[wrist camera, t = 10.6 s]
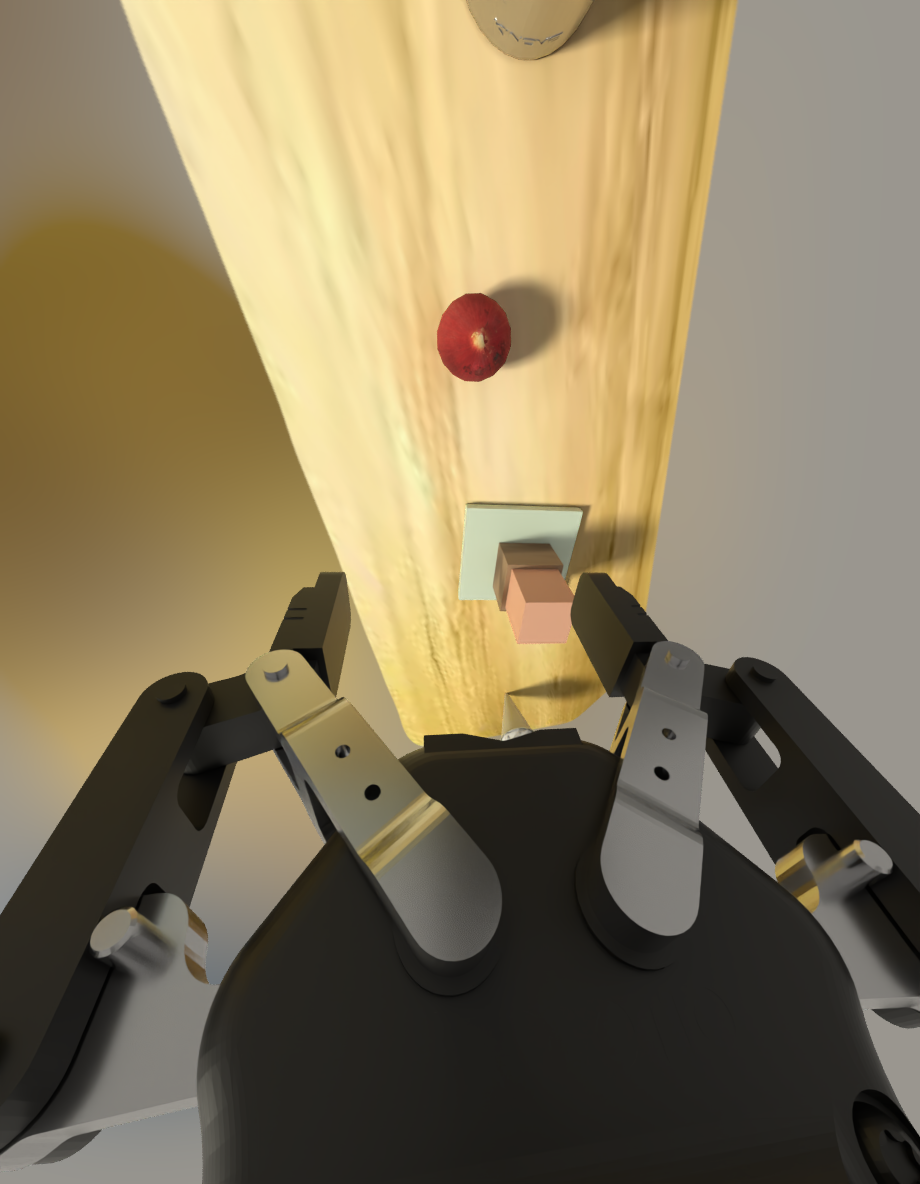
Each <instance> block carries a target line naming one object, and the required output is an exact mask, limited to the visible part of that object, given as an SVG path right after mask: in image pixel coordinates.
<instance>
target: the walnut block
mask: <svg viewBox="0 0 920 1184" xmlns="http://www.w3.org/2000/svg"><path fill="white" fill-rule="evenodd" d="M563 566H564V565H563V563H562V562H561V560H560V559H559V557H558V556H557V554H556V553H555V551H554V549H553V548H552V546H551V545H550V544H547V543H499V546H498V553H497V560H496V567H495V574H494V580H493V589H494V593H495V596H496V599H497V602H498V605H499V609H500V611H506V608H505V606H506V600H507V595H508V589H509V583H510V577H511V571H512V569H558V570H559V572H560V573H561V574H562V570H563Z"/></svg>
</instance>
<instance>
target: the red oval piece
mask: <svg viewBox="0 0 920 1184" xmlns="http://www.w3.org/2000/svg"><path fill="white" fill-rule="evenodd" d="M437 347H438V351H439V354H440V356H441V359H442V361H443V364H444V365H445V366H446V367H447V368H448V369H449V371H450V372H451V373H452V374H453V375H455V376H457V377H458V378H460V379H462V380H464V381H475V382H479V381H482V380H484V379H487V378H489V377H491V376H493V375H494V374H495V373H496V372H497V371H498V370H499V369H500V368H501V367H502V366H503V364H504V363H505V361H506V359H507V356H508V353H509V350H510V347H511V328H510V325H509V322H508V319H507V316H506V313H505V312H504V311H503V309H502V308H501V307H500V306H499V305H498V304H497V302H496V301H494V300H493V299H491V298H489V297H487V296H485V295H484V294H481V293H475V294H465V295H463V296H461V297H460V298H458V299H456V300H454V301H453V302H452V303H451V304H450V306H449V307H448V308H447V310H446V311H445V312H444V313H443V315H442V318H441V321H440V324H439V327H438V330H437Z"/></svg>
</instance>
